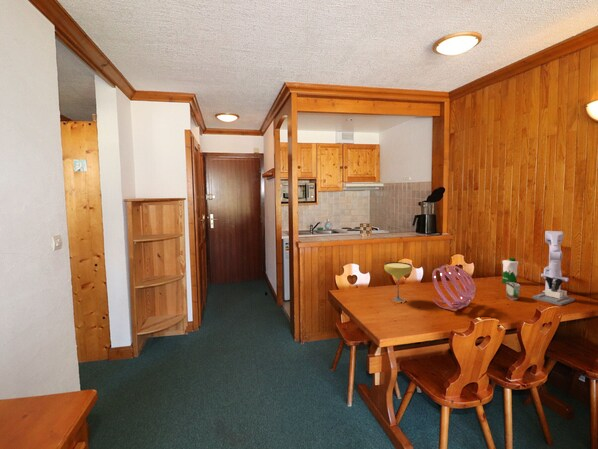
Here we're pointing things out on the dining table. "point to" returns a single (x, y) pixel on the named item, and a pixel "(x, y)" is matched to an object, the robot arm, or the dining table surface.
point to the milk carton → (510, 270)
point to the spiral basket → (460, 301)
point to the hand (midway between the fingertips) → (553, 289)
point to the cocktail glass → (398, 272)
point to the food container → (512, 290)
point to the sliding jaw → (554, 292)
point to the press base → (553, 299)
